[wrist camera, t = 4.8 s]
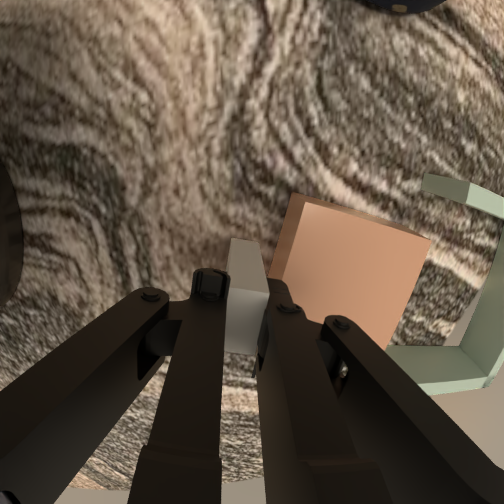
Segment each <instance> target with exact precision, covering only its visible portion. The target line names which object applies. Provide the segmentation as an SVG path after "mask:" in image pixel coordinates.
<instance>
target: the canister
mask: <svg viewBox="0 0 504 504" xmlns="http://www.w3.org/2000/svg"><path fill="white" fill-rule="evenodd" d="M367 1H369V2H371V3H373V4H375V5H378V6H380V7H383V8H385V9H389V10H392V11H396V12H402V13H420V12H424V11H427V10H430V9H433V8H434V7H436V6H437V5H439V4H441V3H443V2H444V1H446V0H367Z"/></svg>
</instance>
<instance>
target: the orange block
mask: <svg viewBox="0 0 504 504" xmlns="http://www.w3.org/2000/svg"><path fill="white" fill-rule="evenodd" d="M431 242H432V241H431V240H429V239H428V238H426V237H424V236H422V235H420V234H418V233H416V232H415V231H413V230H411V229H409V228H407V227H405V226H403V225H400V224H397V223H394V222H391V221H388V220H385V219H382V218H379V217H376V216H373V215H370V214H367V213H363V212H360V211H357V210H354V209H350V208H347V207H344V206H341V205H337V204H334V203H330V202H327V201H324V200H320V199H317V198H313V197H309V196H306V195H302V194H299V193H295V192H292V194H291V197H290V201H289V204H288V208H287V211H286V215H285V219H284V222H283V226H282V229H281V233H280V236H279V239H278V243H277V246H276V250H275V253H274V257H273V260H272V264H271V267H270V270H269V274H268V277H267V278H273V279H279V280H282V281H283V282H284V283H286V284H287V286H288V289H289V292H290V295H291V297H292V300H293V303H295V304H297V305H299V306H300V307H302V309H303V310H304V312H305V314H306V317H307V319H308V320H311V321H314V322H317V323H321V324H323V323H324V319H325V317H327V316H328V315H342V316H345V317H347V318H348V319H351V320H352V321H354V322H355V323H356V324H357V325H358V326H359V327H360V328H361V329H362V330H363V331H364V332H365V333H366V334H367V335H368V336H369V337H370V338H371V339H372V340H373V341H374V342H376V343H377V344H378V345H379V346H380V347H381V348H382V349H383V350H384V351H385V349H386V347H387V345H388V343H389V341H390V339H391V337H392V335H393V333H394V331H395V329H396V327H397V324H398V322H399V320H400V318H401V316H402V314H403V312H404V309H405V307H406V305H407V303H408V300H409V298H410V296H411V293H412V291H413V289H414V286H415V284H416V281H417V279H418V276H419V274H420V271H421V269H422V266H423V264H424V261H425V258H426V256H427V253H428V250H429V247H430V244H431Z"/></svg>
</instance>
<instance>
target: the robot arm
mask: <svg viewBox="0 0 504 504" xmlns="http://www.w3.org/2000/svg"><path fill="white" fill-rule="evenodd" d="M22 260H23V236H22V225H21V218H20V213H19V208H18V204H17V200H16V196H15V193H14V190H13V187H12V184H11V181H10V179H9V176H8V174H7V172H6V170H5V168H4V166H3V164H2V162H1V161H0V308H1V307H2V306H4V305H5V304H6V303H7V302H8V301H9V300H10V298H11V297H12V295H13V294H14V292H15V290H16V287H17V285H18V282H19V278H20V274H21V269H22ZM169 299H170V298H169V295H168V294H167V293H166V292H165V291H163V290H160V289H157V288H154V287H145V288H139V289H137V290H134V291H133V292H132V293H130V294H129V295H127V296H126V297H125V298H123V299H122V300H120V301H119V302H118V303H116V304H115V305H114V306H112V307H111V308H109V309H108V310H107V311H105V312H104V313H102V314H101V315H100V316H98V317H97V318H96V319H94V320H93V321H92V322H90V323H89V324H88V325H86V326H85V327H83V328H82V329H81V330H79V331H78V332H77V333H75V334H74V335H73V336H71V337H70V338H69V339H67V340H66V341H65V342H63V343H62V344H61V345H59V346H58V347H57V348H55V349H54V350H53V351H51V352H50V353H49V354H48V355H46V356H45V357H44V358H42V359H41V360H40V361H38V362H37V363H36V364H35V365H33V366H32V367H31V368H29V369H28V370H27V371H26V372H24V373H23V374H22V375H20V376H19V377H18V378H17V379H15V380H14V381H13V382H12V383H10V384H9V385H8V386H6V387H5V388H4V389H3V390H1V391H0V504H54V502H55V501H56V500H57V499H58V497H59V496H60V495H61V493H62V492H63V491H64V490H65V488H66V487H67V486H68V484H69V483H70V482H71V481H72V479H73V478H74V477H75V475H76V474H77V473H78V472H79V470H80V469H81V468H82V466H83V465H84V464H85V463H86V461H87V460H88V459H89V457H90V456H91V455H92V454H93V452H94V451H95V450H96V448H97V447H98V446H99V445H100V443H101V442H102V441H103V439H104V438H105V437H106V436H107V434H108V433H109V432H110V431H111V429H112V428H113V427H114V425H115V424H116V423H117V422H118V420H119V419H120V418H121V416H122V415H123V414H124V413H125V411H126V410H127V409H128V407H129V406H130V405H131V404H132V402H133V401H134V400H135V398H136V397H137V396H138V395H139V393H140V392H141V391H142V389H143V388H144V387H145V386H146V384H147V383H148V382H149V380H150V379H151V378H152V377H153V375H154V374H155V373H156V372H157V370H158V369H159V368H160V366H161V365H162V364H163V363H164V360H165V356H172V357H171V361H170V364H169V367H168V371H167V374H166V378H165V382H164V385H163V389H162V392H161V396H160V400H159V403H158V407H157V411H156V414H155V418H154V422H153V426H152V430H151V434H150V437H149V441H148V444H147V446H146V445H143V447H142V449H141V451H140V455H139V458H138V462H137V466H136V470H135V473H134V477H133V481H132V486H131V490H130V494H129V498H128V503H127V504H221V483H222V461H221V458H219V441H220V419H221V398H222V379H223V360H224V351H226V352H232V353H240V354H247V355H255V353H256V348H257V346H258V354H257V358H256V362H255V366H254V370H253V374H252V377H251V378H254V377H255V375H256V379H257V392H258V405H259V418H260V430H261V443H262V456H263V468H264V481H265V493H266V504H504V470H503V469H501V468H499V467H498V466H496V465H495V464H494V463H493V462H492V461H491V460H490V459H489V458H488V457H487V456H486V455H485V454H484V453H483V451H482V450H481V449H480V448H479V447H478V446H477V445H476V444H475V443H474V442H473V441H472V440H471V439H470V438H469V437H468V436H467V435H466V434H465V433H464V431H463V430H462V429H461V428H460V427H459V426H458V425H457V424H456V423H455V422H454V421H453V420H452V419H451V418H450V417H449V416H448V415H447V414H446V413H445V412H444V411H443V410H442V409H441V408H440V407H439V406H438V405H437V404H436V403H435V402H434V401H433V400H432V399H431V398H430V397H429V396H428V395H427V394H426V392H425V391H424V390H423V389H422V388H421V387H420V386H419V385H418V384H417V383H416V382H415V381H414V380H413V379H412V378H411V377H410V376H409V375H408V374H407V373H406V372H405V371H404V370H403V369H402V368H401V367H400V366H399V365H398V364H397V363H396V362H395V361H394V360H393V359H392V358H391V357H390V356H389V355H388V354H387V353H386V352H385V351H384V350H383V349H382V348H381V347H380V346H379V345H378V344H377V343H376V342H374V341H373V340H372V339H371V338H370V337H369V336H368V335H367V334H366V333H365V332H364V331H363V330H362V329H361V328H360V327H359V326H358V325H357V324H356V323H355V322H354V321H352V320H351V319H348V318H347V317H345V316H342V315H328V316H327V317H325V319H324V323H323V324H321V323H317V322H314V321H311V320H308V319H307V317H306V314H305V312H304V310H303V309H302V307H300V306H299V305H297V304H295V303H293V300H292V297H291V295H290V292H289V289H288V286H287V284H286V283H284V282H283V281H282V280H279V279H273V278H267V277H266V274H265V269H264V265H263V260H262V255H261V251H260V246H259V242H254V241H248V240H243V239H237V238H231V243H230V249H229V255H228V260H227V266H226V272H225V271H221V270H217V269H211V268H201V269H197V270H195V271H194V273H193V280H192V288H191V295H190V298H189V299H187V300H184V301H169ZM344 364H346V365H347V367H348V372H347V374H346V376H344V375H343V374H342V372H341V371H342V369H343V367H344Z"/></svg>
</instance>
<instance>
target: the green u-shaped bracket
mask: <svg viewBox="0 0 504 504" xmlns="http://www.w3.org/2000/svg"><path fill="white" fill-rule="evenodd" d="M421 190H423V191H426V192H429V193H432V194H435V195H438V196H441V197H444V198H447V199H449V200H452V201H455V202H458V203H461V204H463V205H466V206H469V207H471V208H474V209H477V210H479V211H482V212H485V213H487V214H490V215H492V216H495V217H497V218H500V219H502V220H504V198H503V197H501V196H499V195H497V194H495V193H493V192H491V191H489V190H486V189H484V188H482V187H480V186H478V185H475V184H473V183H471V182H466V181H462V180H457V179H453V178H448V177H443V176H438V175H433V174H428V173H424V177H423V181H422V186H421ZM385 352H386V353H387V354H388V355H389V356H390V357H391V358H392V359H393V360H394V361H395V362H396V363H397V364H398V365H399V366H400V367H401V368H402V369H403V370H404V371H405V372H406V373H407V374H408V375H409V376H410V377H411V378H412V379H413V380H414V381H415V382H416V383H417V384H418V385H419V386H420V387H421V388H422V389H423V390H424V391H425V392H426V394H427V395H435V394H444V393H452V392H459V391H466V390H473V389H479V388H485V387H489V385H490V384H491V382H492V381H493V379H494V377H495V375H496V374H497V372H498V370H499V368H500V366H501V365H502V363H503V361H504V226H503V230H502V233H501V237H500V241H499V244H498V247H497V251H496V254H495V257H494V260H493V263H492V266H491V269H490V272H489V275H488V278H487V281H486V284H485V286H484V289H483V292H482V294H481V297H480V299H479V302H478V304H477V307H476V309H475V312H474V314H473V316H472V319H471V321H470V323H469V326H468V328H467V330H466V332H465V334H464V337H463V339H462V341H461V343H460V345H459V346H402V345H387V347H386V349H385Z"/></svg>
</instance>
